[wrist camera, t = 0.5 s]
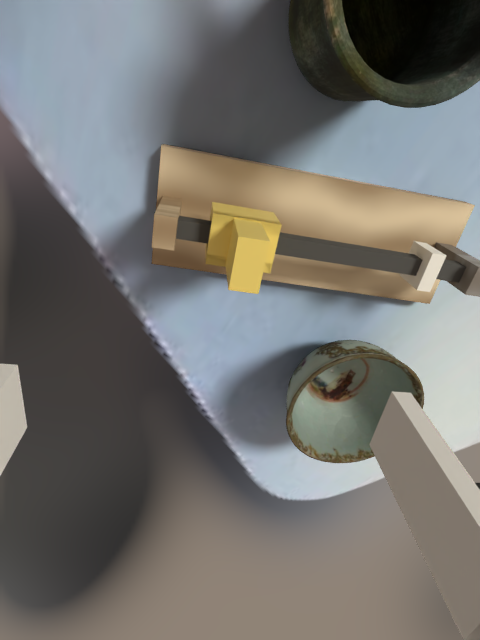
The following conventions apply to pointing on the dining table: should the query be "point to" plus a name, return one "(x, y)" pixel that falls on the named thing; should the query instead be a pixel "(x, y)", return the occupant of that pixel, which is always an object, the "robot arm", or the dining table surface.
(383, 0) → the mug
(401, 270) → the rod
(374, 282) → the wooden slider rail
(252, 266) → the sleeve
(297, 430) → the bowl
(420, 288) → the band
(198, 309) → the dining table surface
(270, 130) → the dining table surface
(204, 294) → the dining table surface
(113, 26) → the dining table surface
